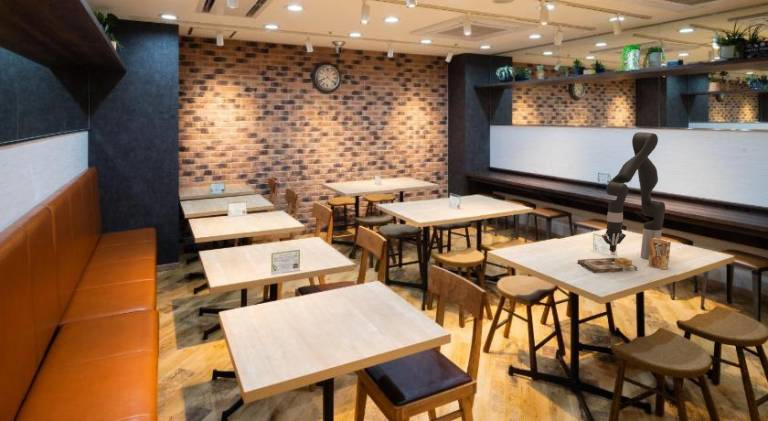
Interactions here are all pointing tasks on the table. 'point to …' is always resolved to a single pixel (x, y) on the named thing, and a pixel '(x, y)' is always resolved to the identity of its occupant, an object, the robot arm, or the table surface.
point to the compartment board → (604, 265)
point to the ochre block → (623, 261)
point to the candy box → (659, 253)
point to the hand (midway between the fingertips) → (612, 251)
